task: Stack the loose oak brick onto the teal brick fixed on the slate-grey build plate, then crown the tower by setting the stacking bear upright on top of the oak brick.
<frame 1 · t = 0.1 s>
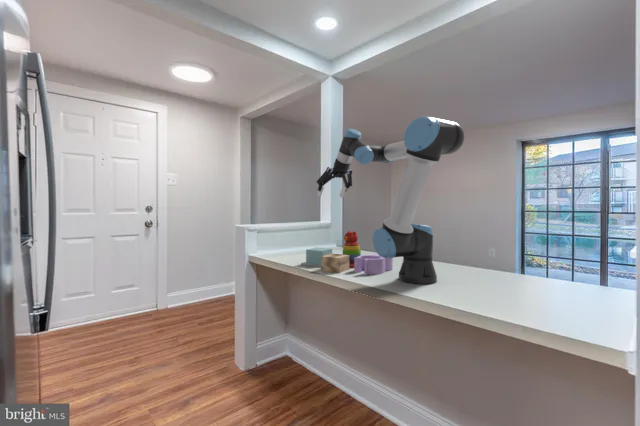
hand: (330, 196, 166), 36 cm above the counter, tool tilted 35°, fingers open, 13 cm apart
oak brick: (335, 270, 152), on the counter
stacking bear: (350, 266, 162), on the counter
tower base: (319, 264, 166), on the counter
clip: (374, 271, 150), on the counter
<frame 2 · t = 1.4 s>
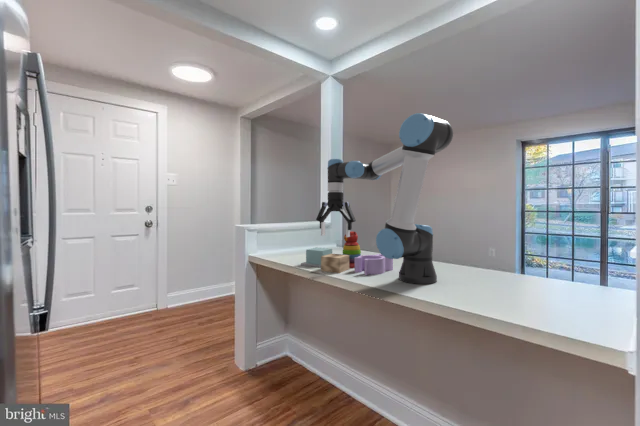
hand: (335, 236, 152), 16 cm above the counter, tool pointing down, fingers open, 13 cm apart
nothing on the counter moved.
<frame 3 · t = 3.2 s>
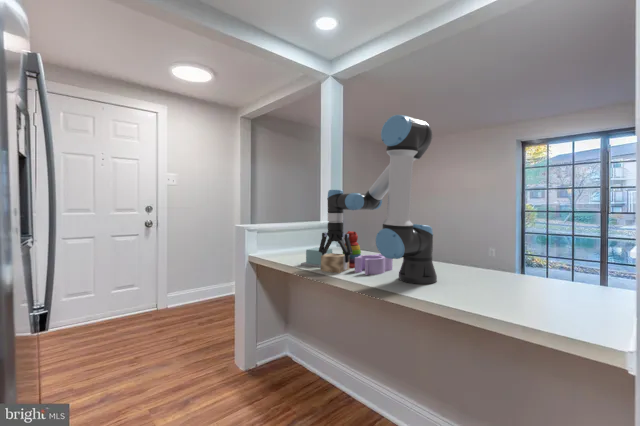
hand: (335, 268, 152), 1 cm above the counter, tool pointing down, fingers closed on oak brick, 10 cm apart
oak brick: (335, 269, 152), on the counter, touching gripper
everything else where it was.
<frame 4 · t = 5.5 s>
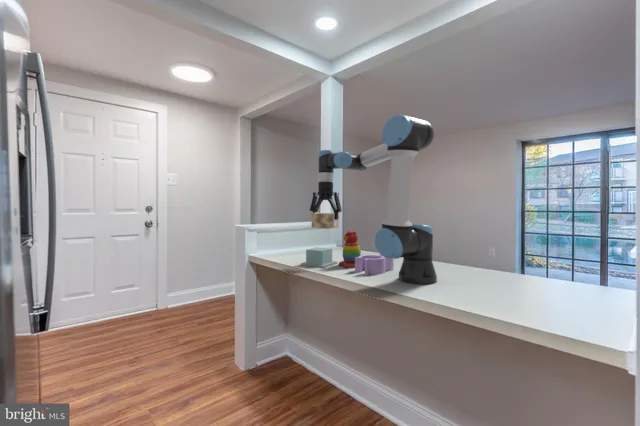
hand: (325, 225, 160), 21 cm above the counter, tool pointing down, fingers closed on oak brick, 10 cm apart
oak brick: (325, 227, 160), point 20 cm above the counter, touching gripper
everything else where it was.
when the fingers open (10 cm above the counter, at t = 8.2 s): oak brick drops 1 cm, resting on tower base.
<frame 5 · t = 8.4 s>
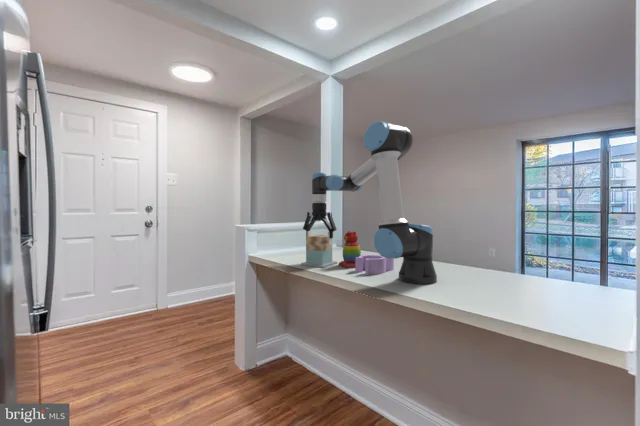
hand: (319, 243, 166), 11 cm above the counter, tool pointing down, fingers open, 12 cm apart
oak brick: (319, 249, 166), point 8 cm above the counter, touching tower base
everything else where it was.
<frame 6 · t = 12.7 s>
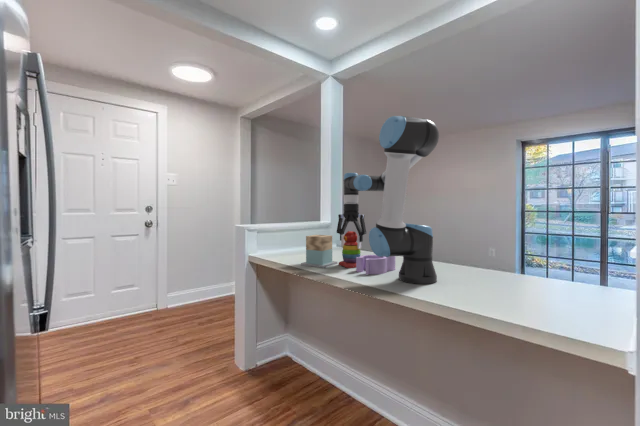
hand: (351, 247, 162), 9 cm above the counter, tool pointing down, fingers closed on stacking bear, 8 cm apart
stacking bear: (350, 266, 162), on the counter, touching gripper
when the fingers open (26 cm above the counter, at t = 17.4 s): stacking bear drops 1 cm, resting on oak brick.
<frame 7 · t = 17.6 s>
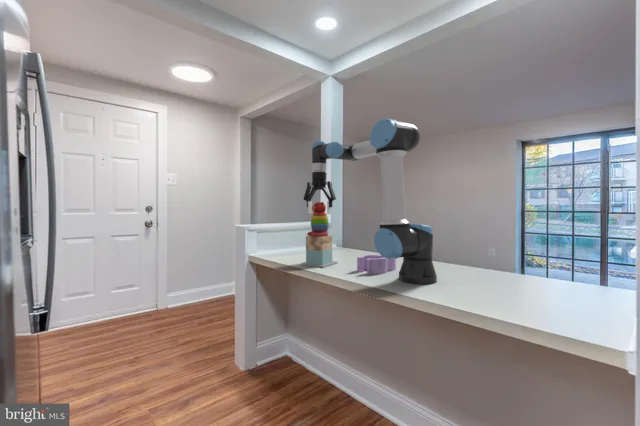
hand: (319, 213, 166), 27 cm above the counter, tool pointing down, fingers open, 11 cm apart
oak brick: (319, 249, 166), point 8 cm above the counter, touching stacking bear, tower base
stacking bear: (318, 236, 166), point 15 cm above the counter, touching oak brick
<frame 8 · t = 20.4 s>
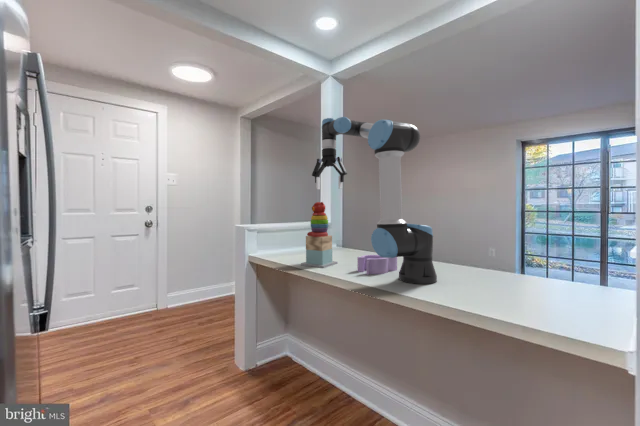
hand: (329, 189, 168), 40 cm above the counter, tool pointing down, fingers open, 13 cm apart
at the end: oak brick inside the target area on the tower base (0.2 cm from its centre), point 8.0 cm above the tower base's base; stacking bear inside the target area on the tower base (0.3 cm from its centre), point 14.8 cm above the tower base's base; stacking bear tilted 0° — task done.
